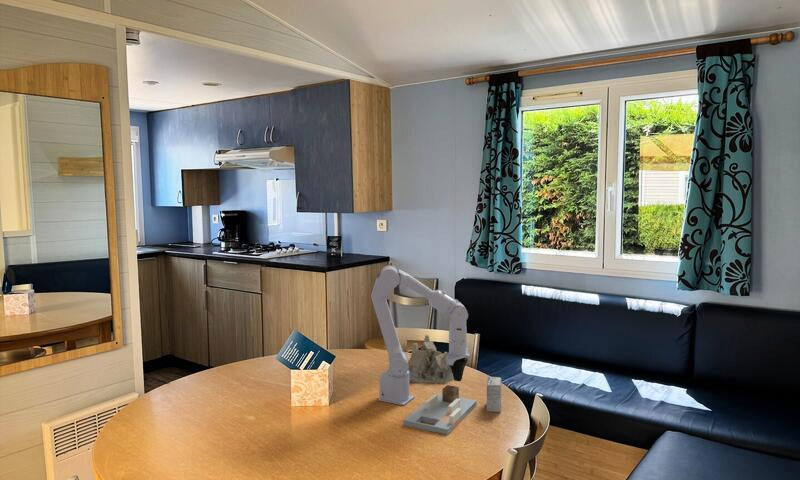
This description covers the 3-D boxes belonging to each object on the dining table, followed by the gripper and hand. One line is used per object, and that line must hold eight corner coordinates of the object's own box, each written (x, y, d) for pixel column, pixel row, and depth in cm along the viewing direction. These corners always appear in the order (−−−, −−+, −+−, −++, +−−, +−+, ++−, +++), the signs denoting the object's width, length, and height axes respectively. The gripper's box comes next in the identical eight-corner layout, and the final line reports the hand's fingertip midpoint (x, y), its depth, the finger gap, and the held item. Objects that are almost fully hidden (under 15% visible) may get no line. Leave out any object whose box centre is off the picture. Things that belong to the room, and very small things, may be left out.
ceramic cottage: (398, 376, 206) (401, 336, 204) (432, 369, 216) (435, 331, 214) (425, 390, 194) (428, 348, 192) (460, 382, 204) (463, 342, 202)
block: (442, 401, 177) (442, 389, 177) (447, 397, 181) (447, 385, 181) (454, 403, 176) (454, 391, 175) (458, 399, 179) (458, 387, 179)
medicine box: (500, 412, 172) (501, 385, 171) (486, 411, 173) (486, 384, 172) (501, 403, 180) (501, 377, 179) (487, 402, 181) (487, 376, 180)
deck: (403, 425, 163) (403, 412, 163) (436, 398, 185) (436, 386, 184) (447, 434, 157) (447, 421, 157) (476, 405, 178) (476, 393, 178)
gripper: (461, 347, 174) (461, 389, 175) (476, 336, 187) (476, 375, 188) (440, 344, 177) (440, 385, 178) (457, 333, 190) (457, 372, 191)
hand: (457, 380), depth 183 cm, fingers closed
